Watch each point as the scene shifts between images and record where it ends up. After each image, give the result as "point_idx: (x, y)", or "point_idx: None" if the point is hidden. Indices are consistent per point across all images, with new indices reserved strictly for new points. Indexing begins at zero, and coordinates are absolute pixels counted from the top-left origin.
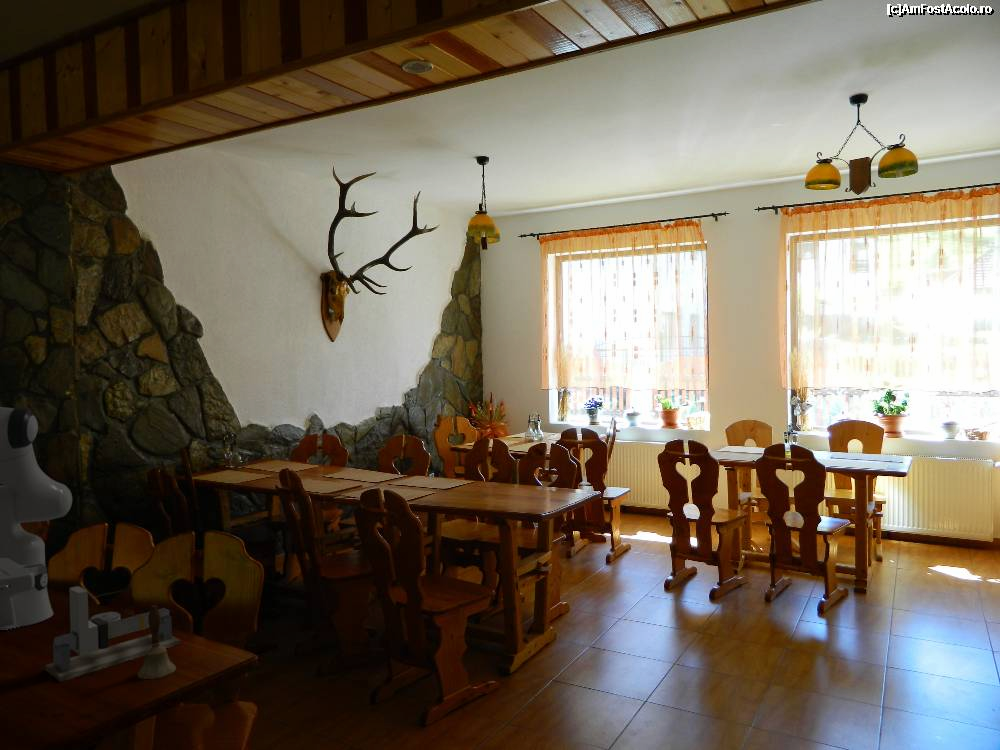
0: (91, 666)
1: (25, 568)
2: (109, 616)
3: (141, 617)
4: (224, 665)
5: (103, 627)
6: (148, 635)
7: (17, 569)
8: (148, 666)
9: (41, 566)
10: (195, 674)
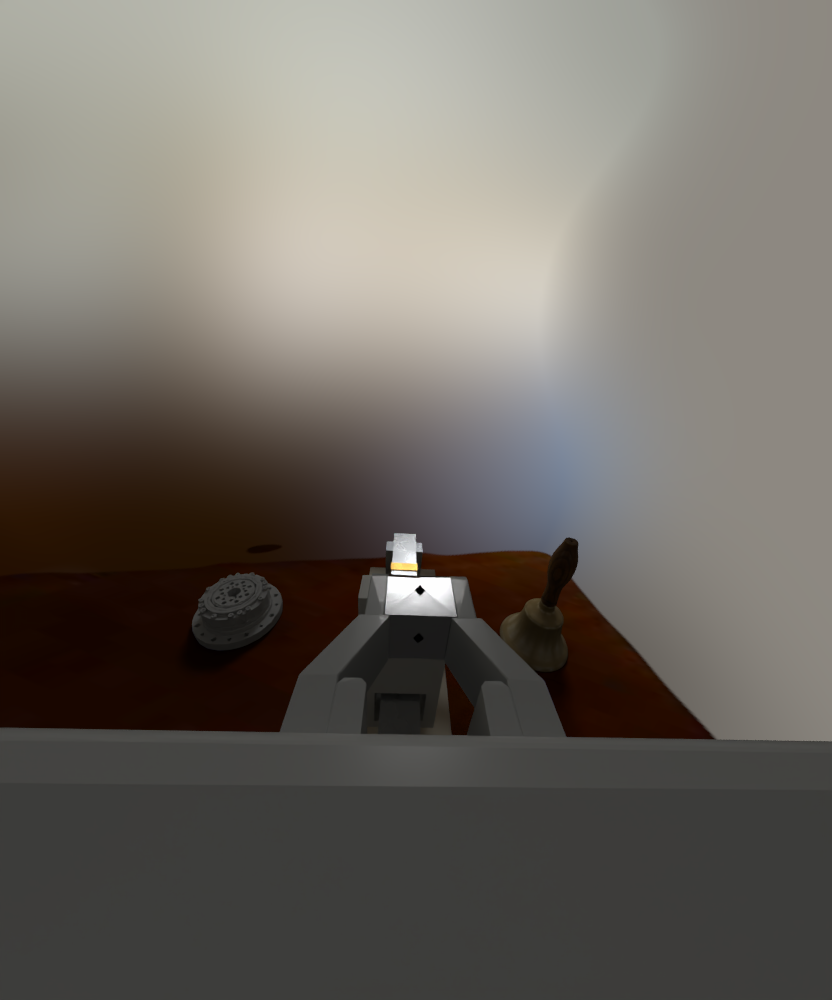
0: (445, 721)
1: (683, 747)
2: (248, 588)
3: (415, 567)
4: None
5: None
6: None
7: (789, 904)
8: (555, 645)
9: (469, 596)
10: (577, 610)
